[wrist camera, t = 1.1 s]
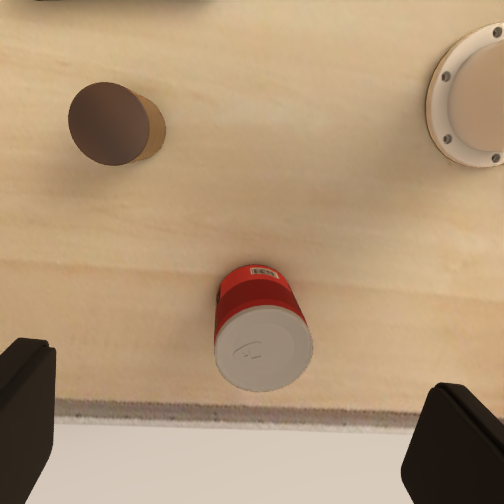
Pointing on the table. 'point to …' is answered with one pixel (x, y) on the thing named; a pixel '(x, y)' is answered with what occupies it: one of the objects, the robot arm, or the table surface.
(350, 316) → the table surface
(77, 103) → the walnut cylinder
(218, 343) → the canned food
